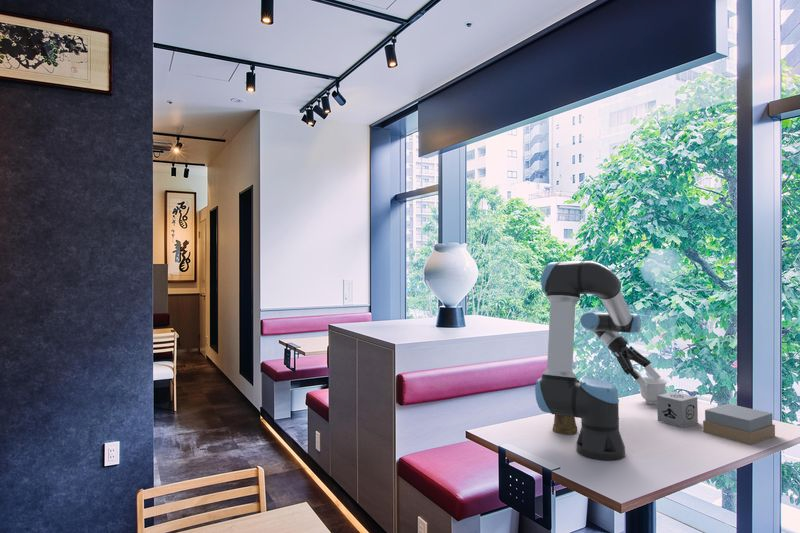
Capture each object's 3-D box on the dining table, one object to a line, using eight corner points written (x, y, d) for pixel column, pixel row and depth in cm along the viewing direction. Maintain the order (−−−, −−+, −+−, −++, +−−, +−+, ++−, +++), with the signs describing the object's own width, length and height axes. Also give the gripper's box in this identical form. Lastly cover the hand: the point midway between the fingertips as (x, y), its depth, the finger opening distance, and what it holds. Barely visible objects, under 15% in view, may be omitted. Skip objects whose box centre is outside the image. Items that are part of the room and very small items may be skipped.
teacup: (630, 404, 223) (629, 381, 222) (644, 397, 233) (643, 376, 233) (659, 409, 214) (658, 386, 214) (672, 402, 224) (671, 379, 224)
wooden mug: (589, 428, 192) (588, 381, 192) (568, 436, 184) (567, 387, 184) (568, 422, 200) (567, 377, 199) (547, 430, 191) (546, 383, 191)
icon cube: (673, 416, 205) (672, 391, 204) (697, 422, 196) (697, 397, 196) (657, 420, 200) (657, 395, 200) (682, 427, 191) (681, 401, 191)
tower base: (750, 444, 172) (750, 421, 172) (703, 431, 186) (702, 409, 186) (775, 435, 179) (774, 413, 179) (727, 423, 193) (727, 403, 193)
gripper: (621, 342, 225) (657, 382, 214) (594, 350, 208) (631, 393, 197) (633, 332, 221) (670, 371, 210) (606, 338, 204) (645, 381, 193)
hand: (651, 382), depth 203 cm, fingers open, 13 cm apart
